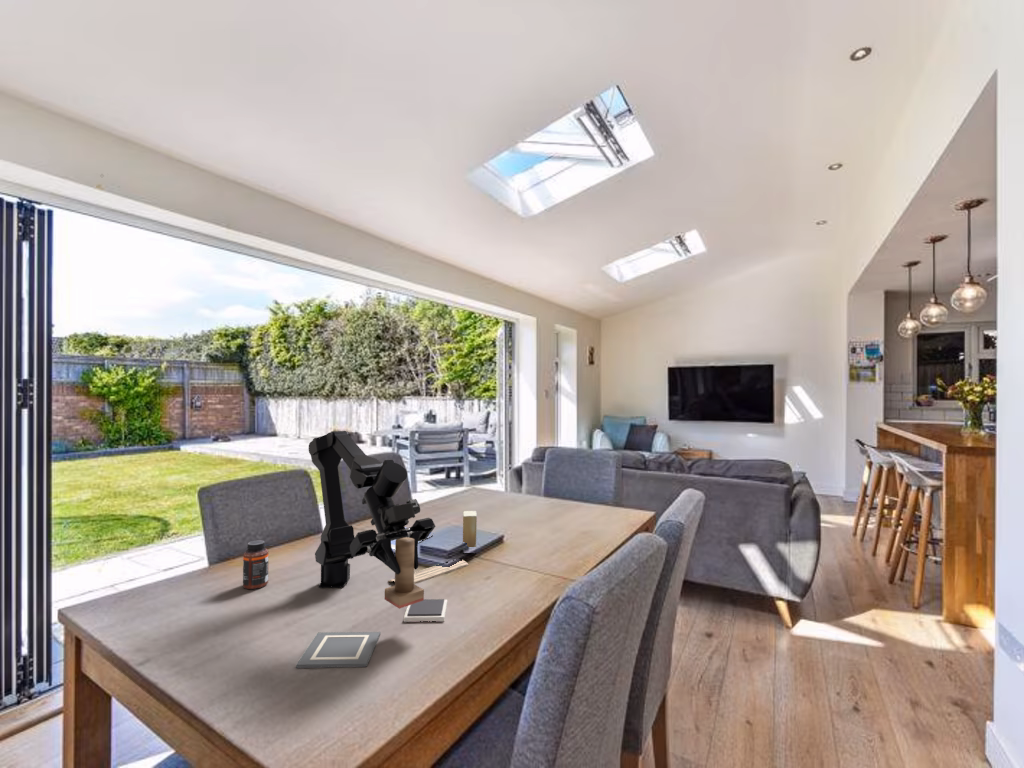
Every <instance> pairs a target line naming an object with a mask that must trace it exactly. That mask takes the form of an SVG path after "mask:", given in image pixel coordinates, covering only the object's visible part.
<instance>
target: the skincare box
mask: <svg viewBox="0 0 1024 768" xmlns="http://www.w3.org/2000/svg"><path fill="white" fill-rule="evenodd" d="M477 516H478V514H477V510H464V511H463V513H462V543H463V542H465V543H467V546H468V547H476V548H477V522H478V520H477V519H478V518H477Z"/></svg>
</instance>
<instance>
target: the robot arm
mask: <svg viewBox="0 0 1024 768" xmlns="http://www.w3.org/2000/svg"><path fill="white" fill-rule="evenodd" d="M308 452H309V455H310V458H311V462H312V464H313V465H314V466H315V467H316V469H317V470H318V472H319V479H320V486H321V495H322V501H323V502H322V504H323V511H324V520H325V521H324V522H325V526H324V528H323V530H322V532H321V535H320V543H319V545H318V547H317V549H316V551H315V552H314V557H315V562H316V563H318V564H319V565H320V583H319V584H318V586H317V587H318V588H320V589H321V588H344V587H345V586H346V584H347V583H348V582H349V580H350V578H351V575H350V574H351V564H350V563H349V559H350V560H353V559H354V558H356V557H361V556H363V555H366V553H367V552H368V551H367V550H368V548H367V546H370V548H371V551H369V554H368V555H369V556H370V557H375V558H376V559H377V560H378V561H380V562H381V563H383V564H384V565H385V566H387V567H388V568H389V569H390V570H391V571H393V572H394V574H395V573H396V574H397V575H398V574H400V572H401V571H400V568H399V564H398V562H397V560H396V557H395V554H394V553H393V550H392V548H391V541H392V540H396V539H399V538H406V537H407V538H413V539H414V570H418V568H419V554H418V549H419V548H418V546H419V545H418V544H419V543H418V541H421V540H424V541H426V540H427V539H426V538H427V537H428V536H429V535H430V533H433V530H434V529H435V528H436V524H435V521H434V519H432V518H431V517H426V518H420V519H416V520H415V521H414V522H413V524H412V526H411V527H410V526H409V527H406V526H407V525H408V524H410V520H411V519H412V518H413V519H414V518H416V515H417V514H419V513H420V512H421V507H420V503H419V501H418V500H417V499H416V498H413V499H409V500H408V501H406V503H403V504H399V503H397V504H396V503H395V501H394V498H393V497H395V496H396V495H397V494H398V492H399V491H400V489H401V487H402V486H403V484H404V483H405V481H406V480H407V478H408V471H407V469H406V468H404V466H402V464H400V463H396V462H395V461H394V459H393V458H390V459H389V458H388V459H384V460H383V463H382V461H380V460H379V459H377V458H374V457H371V456H369V455H367V454H366V453H365V452H364V451H363V449H362V448H361V447H360V446H359V445H358V444H357V443H356V442H355V440H353V438H352V437H351V434H350V432H349V431H347V430H336V431H335V430H333V431H330V432H328V433H326V434H325V435H321V436H319V437H313V439H312V440H311V441H310V442H309V444H308ZM341 461H343V462H344V464H346V466H347V467H348V468H349V470H350V474H349V478H350V480H351V482H352V484H353V486H354V487H355V488H356V489H358V490H359V489H360V490H361V489H367V488H368V489H367V490H366V492H364V493H363V494H364V495H363V497H362V499H361V500H362V501H361V504H362V505H367V508H368V510H369V513H370V515H371V518H372V519H371V520H370V525H371V526H375V528H376V530H375V529H368V530H363V531H359V532H357V533H356V535H355V532H354V526H353V525H350V524H349V523H348V522H347V521H346V519H345V513H344V512H345V511H344V510H345V509H344V504H343V496H342V488H341V487H342V486H341V481H340V473H339V466H340V464H341ZM409 519H410V520H409ZM405 527H406V528H405ZM425 539H426V540H425Z"/></svg>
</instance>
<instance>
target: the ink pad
mask: <svg viewBox="0 0 1024 768" xmlns="http://www.w3.org/2000/svg"><path fill="white" fill-rule="evenodd" d="M406 607H407V608H406V611H405V613H404V617H403V623H407V622H408V623H412V622H416V623H417V622H418V623H420V621H421V623H422V622H423V621H428V622H429V621H430V622H432V621H436V622H445V618H446V613H447V607H448V599H444V598H441V599H440V598H439V599H436V598H431V599H429V598H428V599H427V598H426V599H425V598H424V600H423V601H420V602H417V603H414V604H411V605H409V606H406ZM423 623H424V622H423Z"/></svg>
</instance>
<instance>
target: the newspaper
mask: <svg viewBox="0 0 1024 768" xmlns="http://www.w3.org/2000/svg"><path fill="white" fill-rule="evenodd" d="M468 566H469V563H468V562H467V561H465V560H464V559H462V561H459V562H457V563H456V564H454V565H452V566H450V567H442V566H436V565H433V566H430V567H427V568H424V569H421V570H418V571H414V584H415V585H416V584H419V583H422V582H425V581H427V580H430V579H433V578H436V577H439V576H442V575H446V574H447V573H451V572H454V571H457V570H459V569H462V568H466V567H468ZM393 581H394V583H395V578H393V579H389V580H387V583H389V582H390V583H393Z"/></svg>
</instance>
